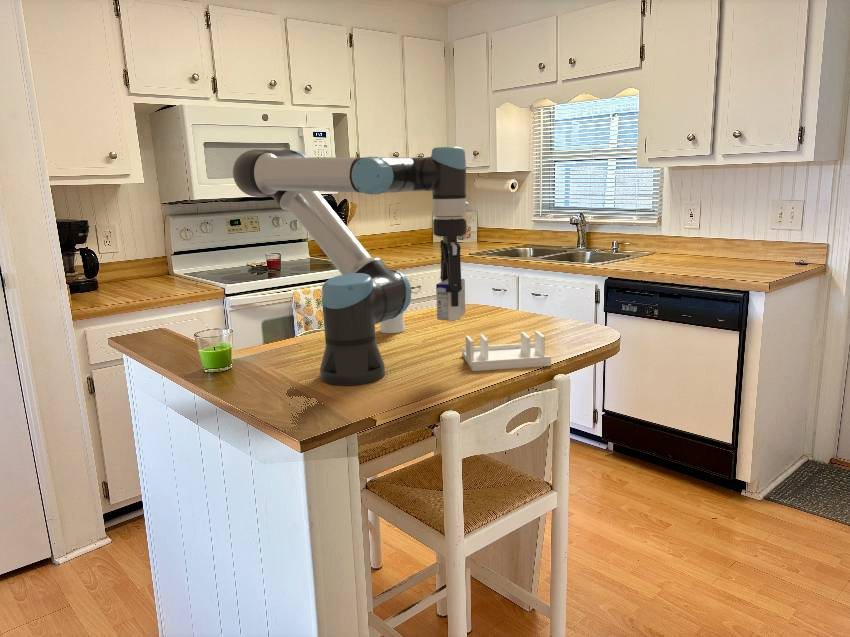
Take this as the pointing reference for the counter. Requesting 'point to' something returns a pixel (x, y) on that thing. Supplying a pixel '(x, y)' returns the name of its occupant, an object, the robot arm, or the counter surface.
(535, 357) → the rack
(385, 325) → the cup
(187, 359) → the counter surface
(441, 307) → the box
